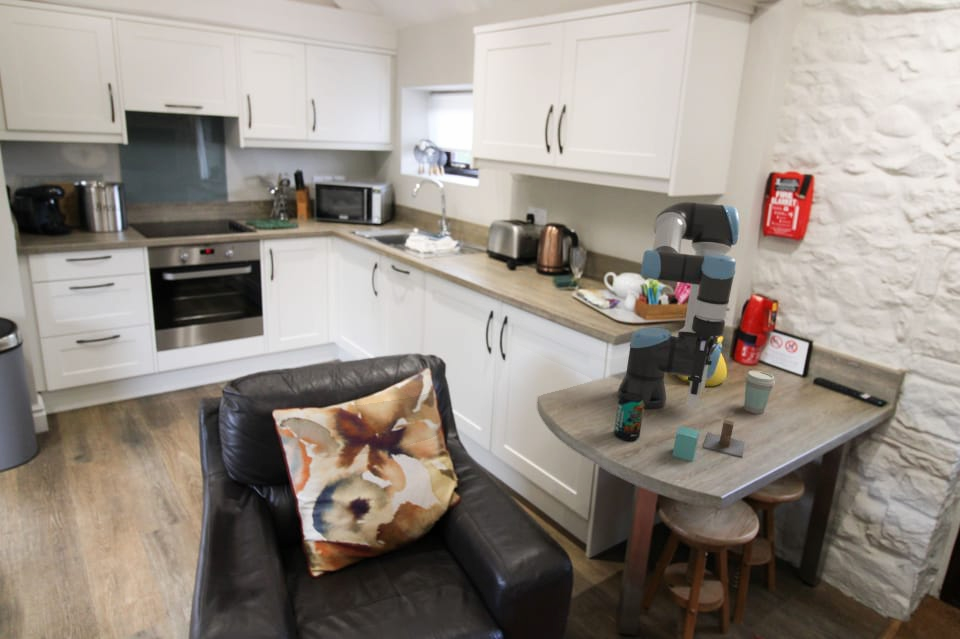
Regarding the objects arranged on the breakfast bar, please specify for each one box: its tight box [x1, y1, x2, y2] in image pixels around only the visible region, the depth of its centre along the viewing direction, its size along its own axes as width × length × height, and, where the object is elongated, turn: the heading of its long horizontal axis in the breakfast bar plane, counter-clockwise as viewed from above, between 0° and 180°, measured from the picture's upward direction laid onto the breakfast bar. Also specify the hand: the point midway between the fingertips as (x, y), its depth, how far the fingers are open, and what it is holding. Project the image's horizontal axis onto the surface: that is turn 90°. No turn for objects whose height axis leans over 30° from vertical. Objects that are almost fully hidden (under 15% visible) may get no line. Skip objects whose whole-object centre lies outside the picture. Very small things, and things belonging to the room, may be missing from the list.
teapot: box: [676, 335, 728, 387], centre depth 222 cm, size 25×18×14 cm
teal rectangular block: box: [672, 425, 701, 462], centre depth 166 cm, size 5×5×7 cm
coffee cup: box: [743, 370, 776, 415], centre depth 197 cm, size 8×8×12 cm
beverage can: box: [613, 392, 645, 442], centre depth 173 cm, size 7×7×12 cm
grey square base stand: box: [702, 419, 745, 458], centre depth 172 cm, size 10×10×7 cm
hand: (695, 396), depth 162 cm, fingers open, 13 cm apart
